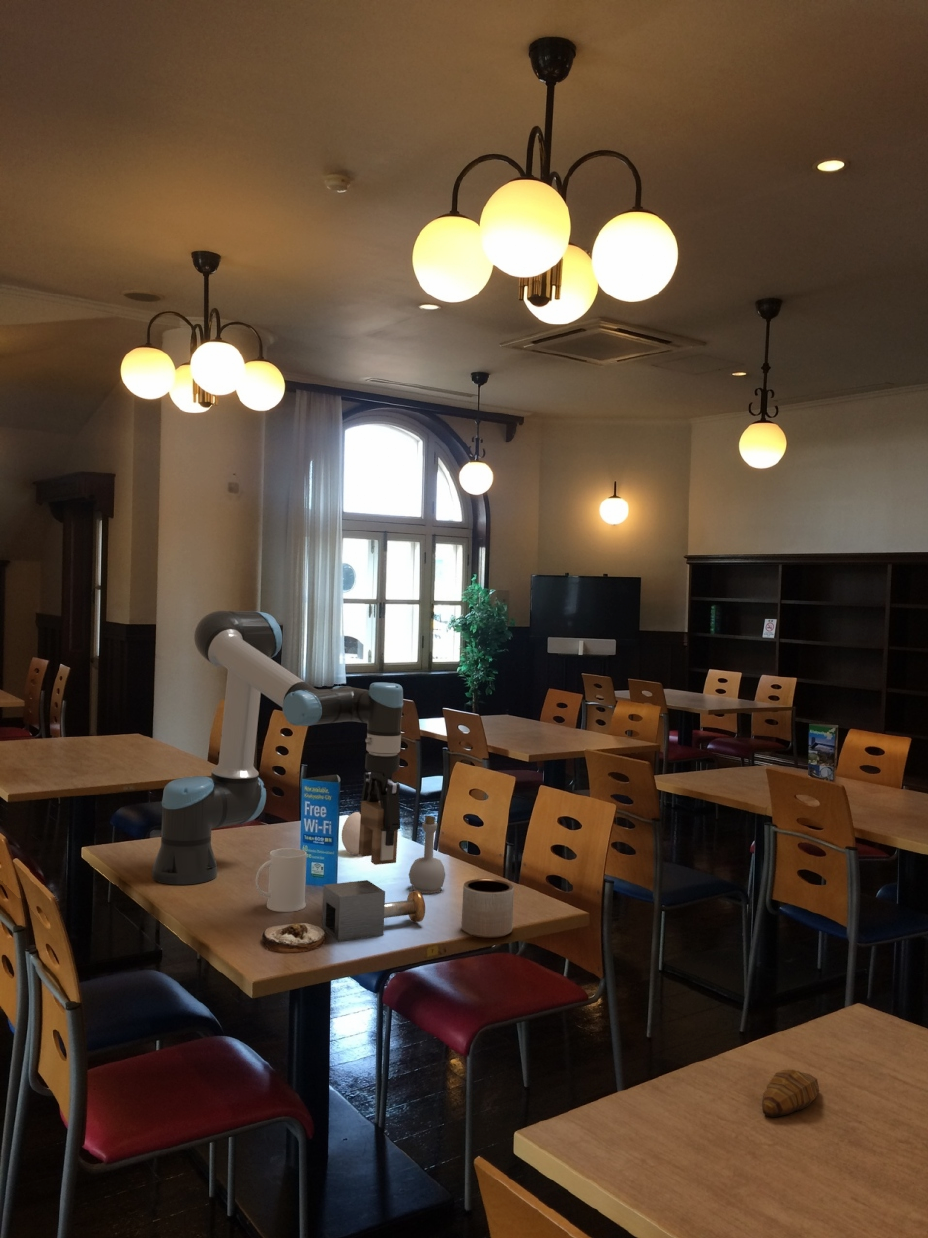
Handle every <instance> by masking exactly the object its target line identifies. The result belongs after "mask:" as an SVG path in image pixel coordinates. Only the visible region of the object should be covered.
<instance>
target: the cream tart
mask: <svg viewBox="0 0 928 1238" xmlns="http://www.w3.org/2000/svg"><path fill="white" fill-rule="evenodd" d="M261 938H262V941H263V945H265V946H266V947H267V948H266V951H269V950H270V951H275V952H277V953H301V952H302V953H305V952H307V951H314V950H315V949H318V948H320V947H323V946H324V945H325V940H326V939H325V938H326V931H325V930H324V929H322V927H320V926H318V925H314V924H311V923H306V922H304V923H303V922H300V923H299V922H298V923H297V922H296V923H289V924H279V925H273V926H269V927H267V928H265V931H264V932H263V933H262V937H261Z"/></svg>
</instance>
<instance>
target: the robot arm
mask: <svg viewBox="0 0 928 1238" xmlns="http://www.w3.org/2000/svg"><path fill="white" fill-rule="evenodd" d="M194 630H195V631H194V637H193V638H194V644H195V645H194V646H195V647H196V649H197V651H198V652H199V654H200V655H201V656H202V657H203V658H204V659H205V660H206V661H208V662H209V663H211V665H214V666H216V667H218V668H219V667H220V668H221V667H224V668H226V669H227V677H226V685H225V686H226V687H225V698H224V705H223V706H224V707H223V717H222V727H221V737H220V745H219V746H220V748H219V757H218V764H216V766H214V767H213V768H212V769H211V772H210V773H211V775H210V776H211V777H209V776H205V775H204V776H203V775H194V776H185V777H184V776H183V777H180V778H176V779H173V780H172V781H170V782H169V781H168V783H167V784H166V785H165V786H164V788H163V790H162V791H163V793H162V794H163V795H162V799H161V806H162V810H161V811H162V813H161V814H162V815H161V830H160V831H161V835H160V838H161V839H160V847H159V848H158V852H157V855H156V858H155V860H154V863H153V865H152V871H151V872H152V873H151V878H152V880H153V881H155V882H157V883H161V884H167V885H176V886H177V885H178V886H179V885H182V886H183V885H194V884H195V885H197V884H201V883H202V884H203V883H206V882H210V881H212V880H214V879H215V878H217V876H218V865H217V861H216V858H215V854H214V850H213V847H212V830H213V829H218V828H224V827H229V826H230V827H231V826H234V825H236V826H237V825H242V824H245V823H248V822H251V821H254V820H256V818H258V817H259V816H260V814H261V813H262V812H263V810H264V808H265V805H266V802H267V801H266V800H267V791H266V790H267V789H266V788H265V784H264V781H263V780H262V779H261V778H260V777H259V776H260V775H259V774H260V773H259V771H258V770H257V769H256V768H255V766H254V765H255V763H254V761H255V754H256V753H255V751H256V744H257V743H256V741H257V732H258V723H259V715H260V714H259V713H260V705H261V704H260V703H261V694H262V695H264V696H265V697H266V698H268V699H270V701H272V702H274V703H275V704H276V705H278V706H279V707H281V708H282V714H283V716H284V717H285V720H286V721H287V723H288V724H290V725H292V726H296V727H298V726H299V727H301V726H302V727H310V726H315V725H316V726H317V725H323V724H336V723H343V722H345V723H346V722H357V723H363V724H367V727H366V729H367V730H366V738H365V743H366V749H365V750H366V751H367V753H365V761H364V762H365V764H364V768H365V770H366V771H367V772H364V773H363V785H362V791H361V800H360V804H359V805H360V806H359V811H358V812H359V813H360V814H361V801H368V802H377V801H380V803H381V808H382V809H384V814H383V824H384V828H382V829H381V831H382V838H381V856H380V860H393V850H394V833H395V830H397V829H398V830H400V829H401V813H400V812H401V810H400V788H401V785H400V783H399V782H394V776H393V775H394V774H395V773H397V772H398V771H399V770H400V762H401V761H400V760H401V759H400V758H401V756H400V755H399V753H400V752H401V745H402V744H401V743H402V719H403V711H404V710H403V708H404V689H403V687H402V685H400V684H399V683H395V682H382V681H381V682H372V683H371V684H370V685H369V689H364V688H357V687H352V686H349V685H346V686H343V685H340V686H339V685H337V686H334V687H332V688H326V689H317V688H315V687H313V686H312V685H310V684H309V683H307V682H306V681H305V680H302V679H301V677H299V676H297V675H295V674H294V673H292V672H291V671H289V670H288V669H286V667H284V666H282V665H281V664H280V663H278V662H276V661H275V660H273V659H272V658H273V657H276V656H277V654H278V652H280V650H281V648H282V644H283V634H282V633H283V632H282V630H281V627H280V624H279V623H278V622H277V620H276V618H274V617H273V616H272V615H271V614H270V613H267V612H262V611H255V610H216V611H212V612H210V613H208V614H205V616H203V617H202V618H201V619H199V622H198V623H197V625H196V628H195V629H194Z"/></svg>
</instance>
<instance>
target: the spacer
mask: <svg viewBox="0 0 928 1238" xmlns="http://www.w3.org/2000/svg"><path fill="white" fill-rule="evenodd" d="M360 803H361V819H360V837H359V854H358V855H359V856H361V857H370V858H371V859H370V862H371V864H373V865H374V866H378V865H386V864H396V863H397V853H398V833H399V829H397V830H395V833H394V850H393V860H380V856H381V838H382V831H381V829H382V828H384V824H383V814H384V809H382V808H381V803H380V801H377V802H368V801H361V800H360Z"/></svg>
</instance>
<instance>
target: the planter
mask: <svg viewBox="0 0 928 1238" xmlns="http://www.w3.org/2000/svg"><path fill="white" fill-rule="evenodd" d="M514 889H515V887H514V885H513V884H512V883H511V882H508V881H504V880H501V879H496V878H495V879H494V878H475V879H471V880H467V881H465V882H464V883H463V886H462V903H461V904H462V908H461V921H460V922H461V925H460V926H461V929H462V930H463V932H465V933H466V932H467V934H468V933H469V934H468V935H470V934H471V935H470V936H472V935H473V937H478V938H483V939H485V938H486V939H495V938H496V939H497V938H503V937H505V936H507V935H509V934H510V933H512V931H513V929H514V928H513V925H514V896H515V894H514V892H515V890H514Z"/></svg>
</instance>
